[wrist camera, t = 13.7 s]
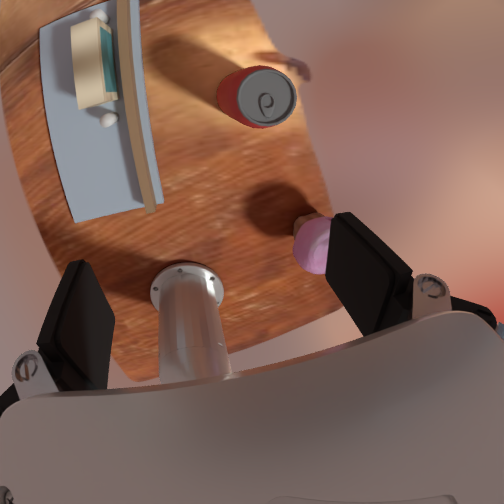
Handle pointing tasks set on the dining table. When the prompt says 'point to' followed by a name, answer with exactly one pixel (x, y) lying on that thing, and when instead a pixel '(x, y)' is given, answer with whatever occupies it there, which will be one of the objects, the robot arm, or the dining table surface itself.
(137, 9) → the ledge
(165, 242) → the dining table surface
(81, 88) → the beige tapered block
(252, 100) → the beer can
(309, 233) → the cupcake
